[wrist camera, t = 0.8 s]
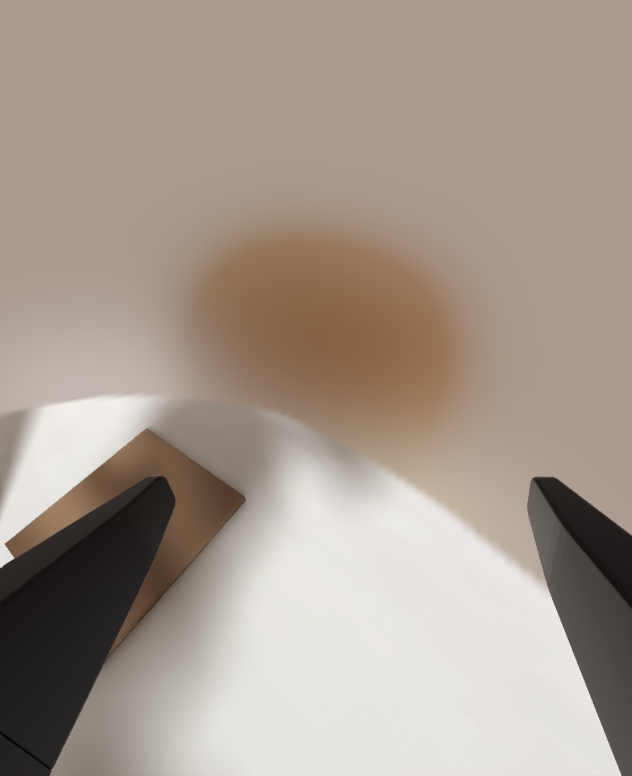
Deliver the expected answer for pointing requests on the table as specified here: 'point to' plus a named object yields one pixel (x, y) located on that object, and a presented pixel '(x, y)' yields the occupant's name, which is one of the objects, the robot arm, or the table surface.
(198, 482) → the plate
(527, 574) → the table surface
